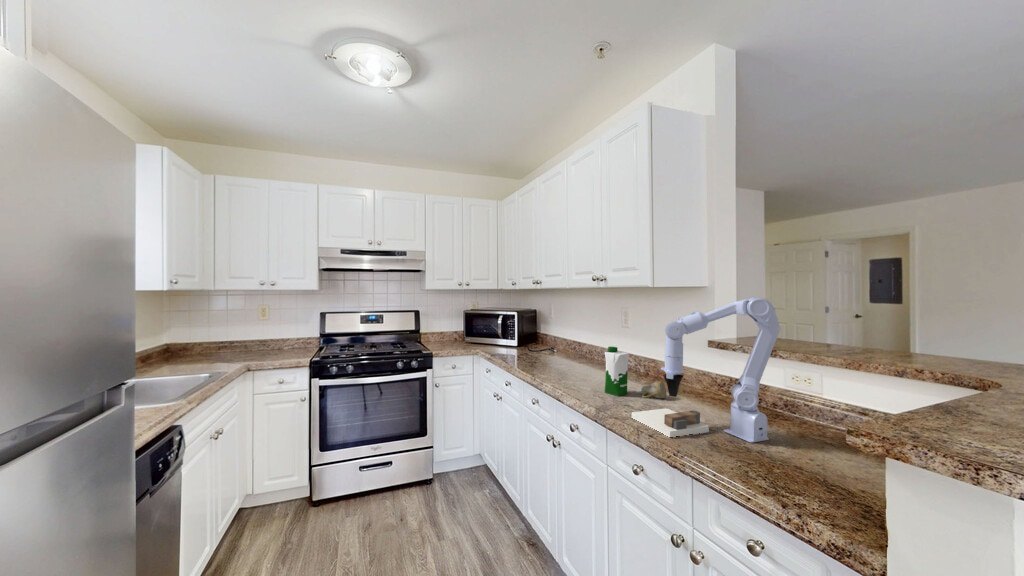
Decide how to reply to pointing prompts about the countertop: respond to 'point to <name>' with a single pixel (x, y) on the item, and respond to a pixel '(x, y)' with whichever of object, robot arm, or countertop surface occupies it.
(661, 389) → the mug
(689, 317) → the robot arm
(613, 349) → the milk carton
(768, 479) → the countertop surface
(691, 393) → the countertop surface
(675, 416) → the folding leg
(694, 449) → the countertop surface
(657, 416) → the stool seat
